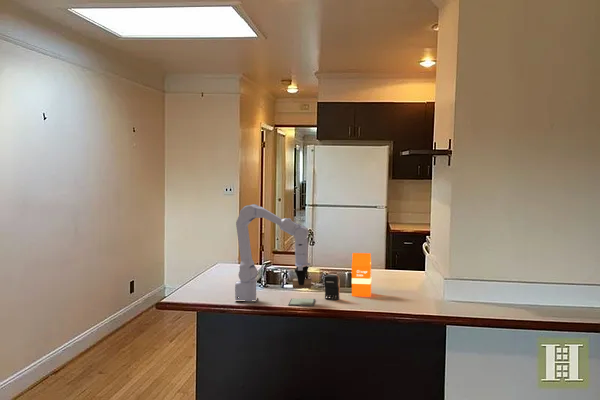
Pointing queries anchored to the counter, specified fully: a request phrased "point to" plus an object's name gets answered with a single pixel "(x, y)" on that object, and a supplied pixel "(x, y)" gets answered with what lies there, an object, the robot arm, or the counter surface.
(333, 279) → the black upright block
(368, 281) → the orange juice
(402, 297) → the counter surface
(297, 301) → the mat
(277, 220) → the robot arm
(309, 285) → the tan block
